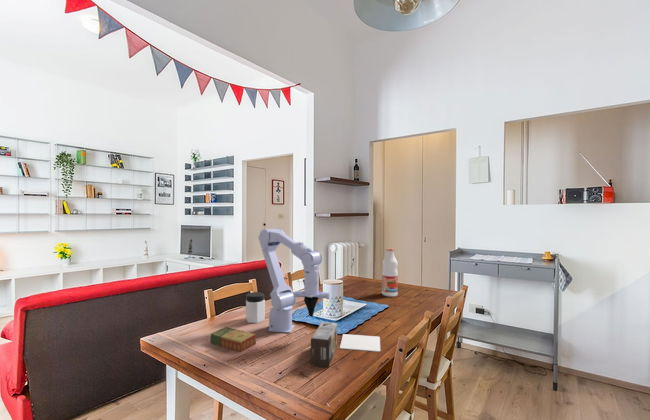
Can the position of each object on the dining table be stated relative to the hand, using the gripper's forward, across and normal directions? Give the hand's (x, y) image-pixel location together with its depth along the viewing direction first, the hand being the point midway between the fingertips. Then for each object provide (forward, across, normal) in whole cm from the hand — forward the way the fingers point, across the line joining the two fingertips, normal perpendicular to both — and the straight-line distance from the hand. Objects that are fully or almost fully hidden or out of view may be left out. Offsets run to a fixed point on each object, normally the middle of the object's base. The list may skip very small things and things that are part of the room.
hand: (311, 315), depth 126 cm
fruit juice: (+10, +34, +71) cm, 79 cm away
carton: (+10, -29, -9) cm, 32 cm away
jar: (+10, -30, +16) cm, 35 cm away
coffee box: (+5, +8, -4) cm, 10 cm away
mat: (+9, +20, 0) cm, 22 cm away
